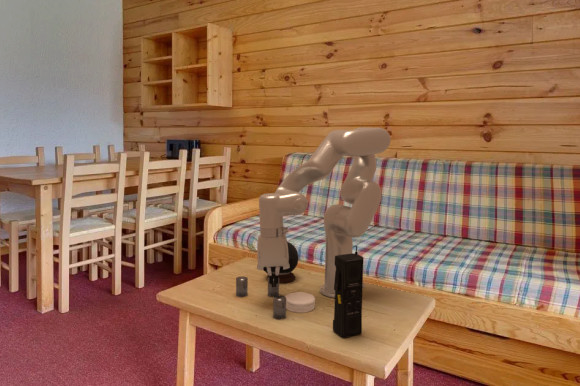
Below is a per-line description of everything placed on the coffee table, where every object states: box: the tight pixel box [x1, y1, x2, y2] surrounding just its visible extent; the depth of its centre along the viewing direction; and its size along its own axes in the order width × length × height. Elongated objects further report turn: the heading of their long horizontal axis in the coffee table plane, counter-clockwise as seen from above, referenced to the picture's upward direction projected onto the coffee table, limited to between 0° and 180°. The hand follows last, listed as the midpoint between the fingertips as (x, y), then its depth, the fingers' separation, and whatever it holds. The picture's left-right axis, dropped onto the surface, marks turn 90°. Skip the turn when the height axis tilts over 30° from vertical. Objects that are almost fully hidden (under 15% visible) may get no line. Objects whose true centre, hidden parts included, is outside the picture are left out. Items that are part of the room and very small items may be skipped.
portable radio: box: [332, 245, 364, 339], centre depth 127 cm, size 8×6×25 cm
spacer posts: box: [235, 275, 287, 320], centre depth 147 cm, size 17×22×6 cm
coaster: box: [284, 291, 316, 314], centre depth 147 cm, size 10×10×4 cm
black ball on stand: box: [266, 241, 300, 285], centre depth 173 cm, size 13×13×15 cm
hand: (274, 285), depth 148 cm, fingers closed
